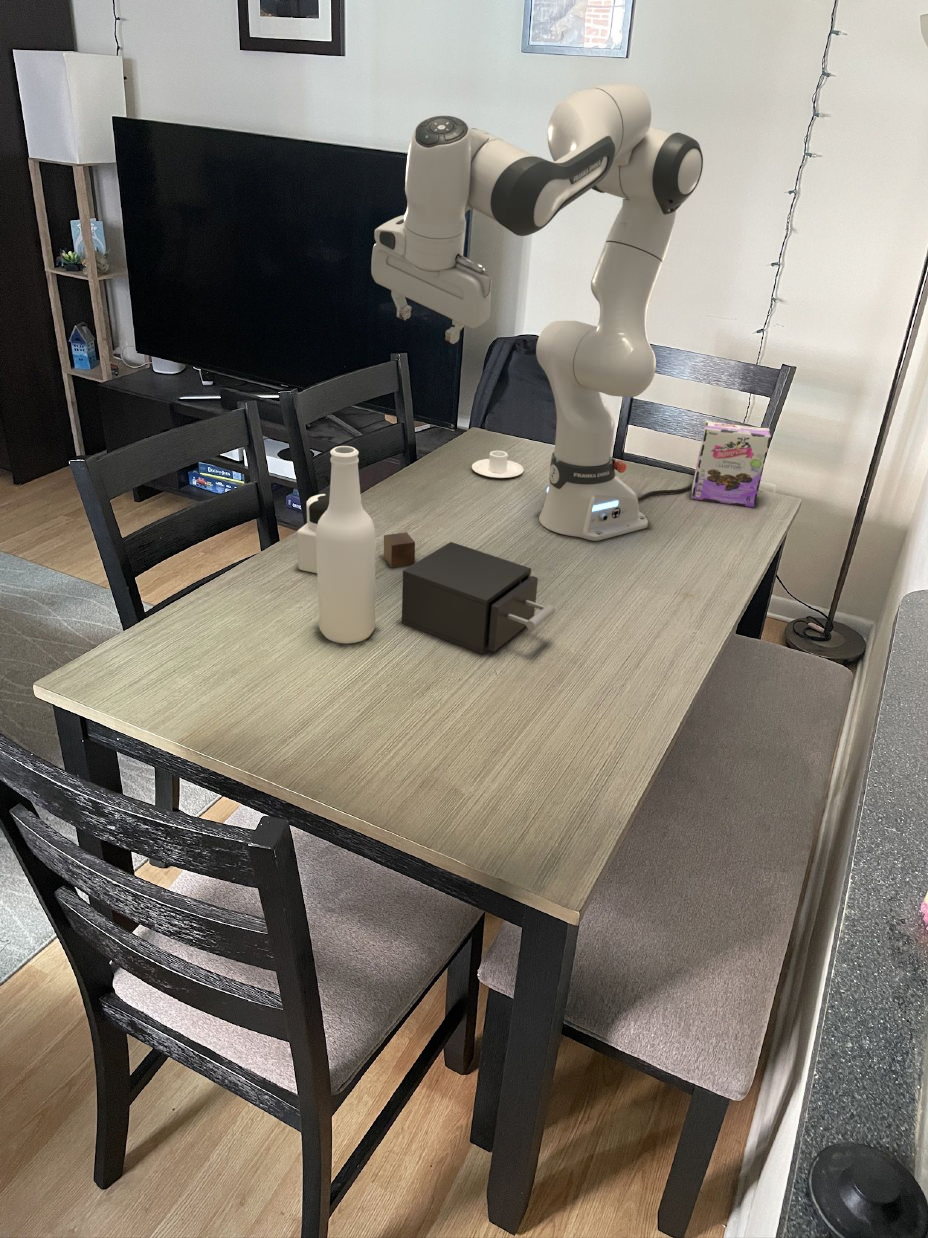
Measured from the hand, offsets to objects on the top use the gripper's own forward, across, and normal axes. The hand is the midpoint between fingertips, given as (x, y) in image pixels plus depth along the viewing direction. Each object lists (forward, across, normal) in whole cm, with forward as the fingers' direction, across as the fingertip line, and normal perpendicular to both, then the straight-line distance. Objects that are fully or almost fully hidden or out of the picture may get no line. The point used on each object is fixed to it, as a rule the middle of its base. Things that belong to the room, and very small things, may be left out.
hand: (427, 328), depth 139 cm
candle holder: (+57, +5, -40) cm, 70 cm away
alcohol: (+34, -12, +34) cm, 49 cm away
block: (+42, -4, +10) cm, 43 cm away
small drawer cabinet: (+34, -25, +19) cm, 47 cm away
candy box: (+51, -42, -60) cm, 89 cm away
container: (+42, +5, +19) cm, 46 cm away
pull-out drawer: (+32, -29, +19) cm, 48 cm away
